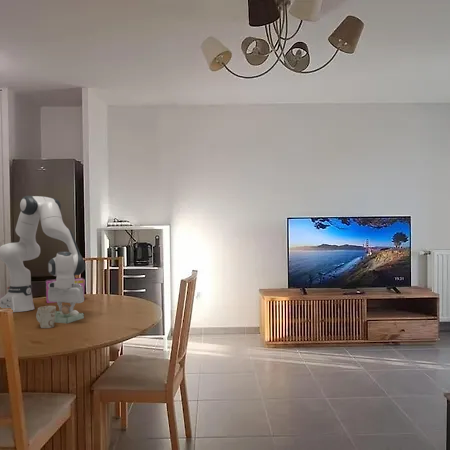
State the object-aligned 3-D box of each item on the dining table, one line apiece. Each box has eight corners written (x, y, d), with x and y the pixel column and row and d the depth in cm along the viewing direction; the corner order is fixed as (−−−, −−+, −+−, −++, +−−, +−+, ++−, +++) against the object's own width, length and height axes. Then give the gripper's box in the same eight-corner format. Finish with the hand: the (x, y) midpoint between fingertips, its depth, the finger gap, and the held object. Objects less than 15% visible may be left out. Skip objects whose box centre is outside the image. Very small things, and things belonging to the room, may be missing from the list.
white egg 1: (58, 318, 274) (57, 309, 274) (64, 316, 278) (63, 308, 278) (65, 319, 272) (65, 310, 272) (71, 317, 276) (70, 308, 276)
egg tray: (36, 321, 270) (36, 315, 270) (54, 316, 282) (54, 311, 282) (67, 324, 262) (67, 318, 262) (84, 319, 274) (83, 313, 274)
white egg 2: (67, 319, 271) (67, 310, 271) (73, 317, 275) (73, 309, 275) (75, 320, 269) (74, 311, 269) (80, 318, 274) (80, 309, 274)
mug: (46, 330, 250) (45, 309, 249) (28, 327, 256) (28, 307, 256) (60, 327, 257) (59, 306, 256) (42, 324, 263) (42, 304, 263)
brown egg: (65, 313, 269) (65, 304, 269) (72, 313, 268) (72, 304, 267) (59, 314, 265) (59, 305, 265) (66, 315, 263) (66, 306, 263)
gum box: (85, 298, 340) (84, 277, 339) (86, 300, 332) (86, 278, 332) (46, 301, 331) (45, 279, 331) (46, 303, 324) (46, 281, 323)
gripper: (86, 283, 265) (87, 311, 265) (54, 282, 273) (54, 308, 273) (78, 285, 259) (79, 313, 260) (45, 284, 267) (46, 311, 268)
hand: (66, 311), depth 266 cm, fingers closed on brown egg, 5 cm apart
